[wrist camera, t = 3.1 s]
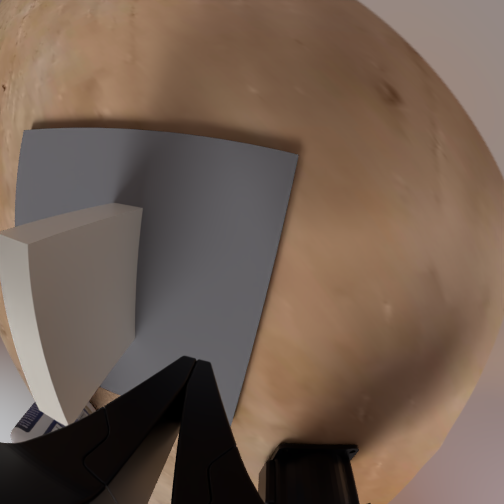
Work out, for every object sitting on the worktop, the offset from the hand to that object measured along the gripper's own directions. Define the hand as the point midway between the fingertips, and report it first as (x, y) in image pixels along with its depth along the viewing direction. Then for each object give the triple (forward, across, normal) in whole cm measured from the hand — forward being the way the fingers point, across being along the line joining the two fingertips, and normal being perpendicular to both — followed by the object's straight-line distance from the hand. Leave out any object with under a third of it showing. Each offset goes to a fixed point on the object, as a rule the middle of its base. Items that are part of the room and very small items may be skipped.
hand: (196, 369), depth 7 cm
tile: (+5, +5, 0) cm, 7 cm away
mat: (+6, +6, +1) cm, 8 cm away
